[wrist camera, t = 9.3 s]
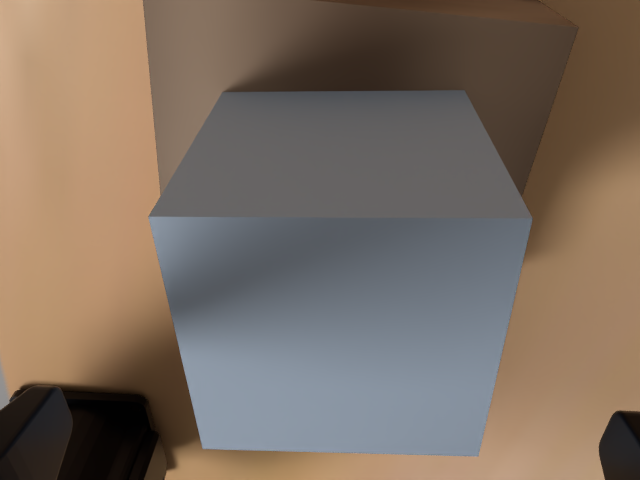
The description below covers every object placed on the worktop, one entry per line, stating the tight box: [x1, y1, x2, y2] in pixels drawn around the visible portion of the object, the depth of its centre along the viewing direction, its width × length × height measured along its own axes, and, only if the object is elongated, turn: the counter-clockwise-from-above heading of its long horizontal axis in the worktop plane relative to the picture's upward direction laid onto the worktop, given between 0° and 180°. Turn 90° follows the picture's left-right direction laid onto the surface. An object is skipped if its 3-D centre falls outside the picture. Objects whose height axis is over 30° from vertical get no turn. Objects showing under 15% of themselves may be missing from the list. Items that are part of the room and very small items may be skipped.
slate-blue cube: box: [149, 90, 533, 456], centre depth 13 cm, size 6×6×6 cm
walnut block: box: [143, 0, 579, 197], centre depth 17 cm, size 10×10×4 cm
